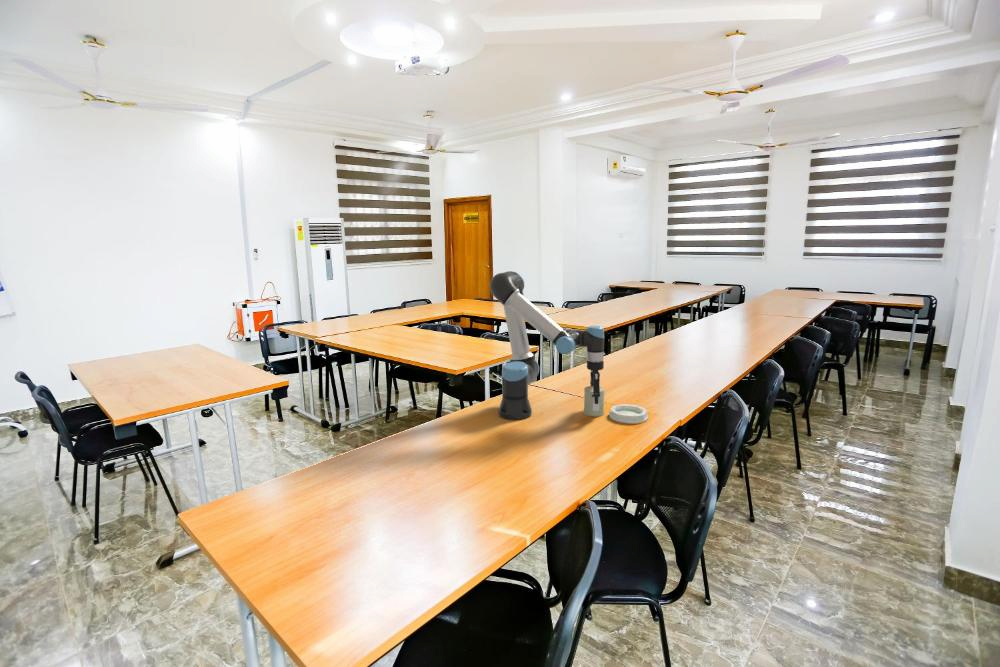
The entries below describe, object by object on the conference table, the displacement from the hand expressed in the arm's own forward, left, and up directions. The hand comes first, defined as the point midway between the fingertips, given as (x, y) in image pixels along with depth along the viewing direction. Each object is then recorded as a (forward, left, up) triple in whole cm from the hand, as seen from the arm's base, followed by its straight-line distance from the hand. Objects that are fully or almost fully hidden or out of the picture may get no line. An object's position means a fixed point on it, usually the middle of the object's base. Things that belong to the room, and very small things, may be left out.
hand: (594, 405), depth 227 cm
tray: (+15, -4, -4) cm, 16 cm away
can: (0, 0, -4) cm, 4 cm away
